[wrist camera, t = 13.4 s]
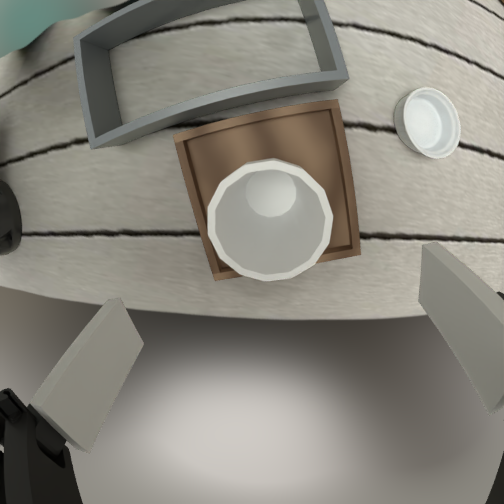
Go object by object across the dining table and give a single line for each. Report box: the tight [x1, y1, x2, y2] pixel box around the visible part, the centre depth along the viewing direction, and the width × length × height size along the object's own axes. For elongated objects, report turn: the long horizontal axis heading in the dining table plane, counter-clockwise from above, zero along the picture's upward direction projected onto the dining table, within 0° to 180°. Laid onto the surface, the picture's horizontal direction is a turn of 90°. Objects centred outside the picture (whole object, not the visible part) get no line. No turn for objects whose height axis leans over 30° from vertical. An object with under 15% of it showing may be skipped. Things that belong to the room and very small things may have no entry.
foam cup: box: [208, 158, 333, 282], centre depth 26 cm, size 10×9×13 cm
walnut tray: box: [173, 99, 361, 281], centre depth 32 cm, size 19×19×2 cm
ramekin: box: [394, 87, 461, 159], centre depth 26 cm, size 9×9×4 cm
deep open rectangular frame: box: [73, 0, 349, 149], centre depth 23 cm, size 28×16×7 cm, turn 103°
